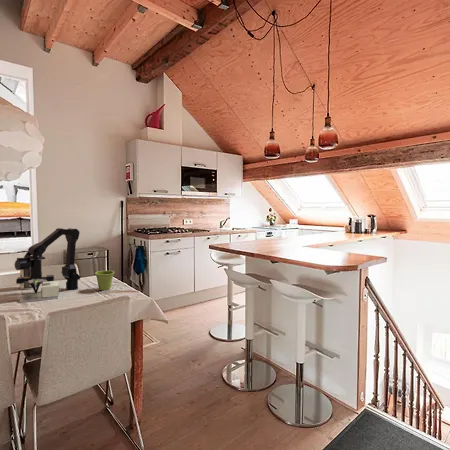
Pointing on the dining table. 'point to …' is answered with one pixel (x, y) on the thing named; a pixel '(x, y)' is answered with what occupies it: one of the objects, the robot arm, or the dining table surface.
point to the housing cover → (50, 289)
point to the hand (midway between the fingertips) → (36, 293)
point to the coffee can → (25, 285)
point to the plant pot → (104, 279)
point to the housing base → (34, 297)
